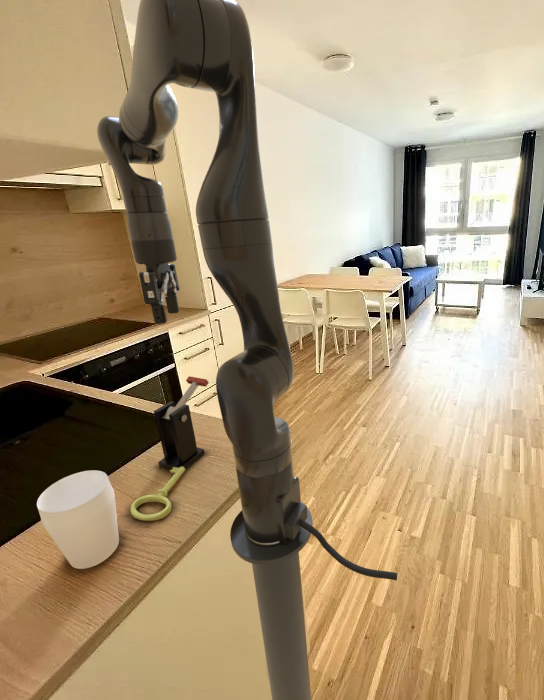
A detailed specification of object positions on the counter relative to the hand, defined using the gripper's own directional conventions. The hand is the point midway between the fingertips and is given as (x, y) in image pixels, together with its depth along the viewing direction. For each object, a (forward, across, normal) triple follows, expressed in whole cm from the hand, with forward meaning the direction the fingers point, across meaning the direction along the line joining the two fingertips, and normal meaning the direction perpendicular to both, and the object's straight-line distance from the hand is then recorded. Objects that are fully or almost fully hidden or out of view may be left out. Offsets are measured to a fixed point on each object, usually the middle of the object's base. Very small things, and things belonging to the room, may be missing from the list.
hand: (168, 317), depth 76 cm
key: (+30, -20, 0) cm, 36 cm away
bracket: (+30, -9, 0) cm, 31 cm away
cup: (+30, -30, +7) cm, 43 cm away
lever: (+18, -5, -2) cm, 19 cm away
